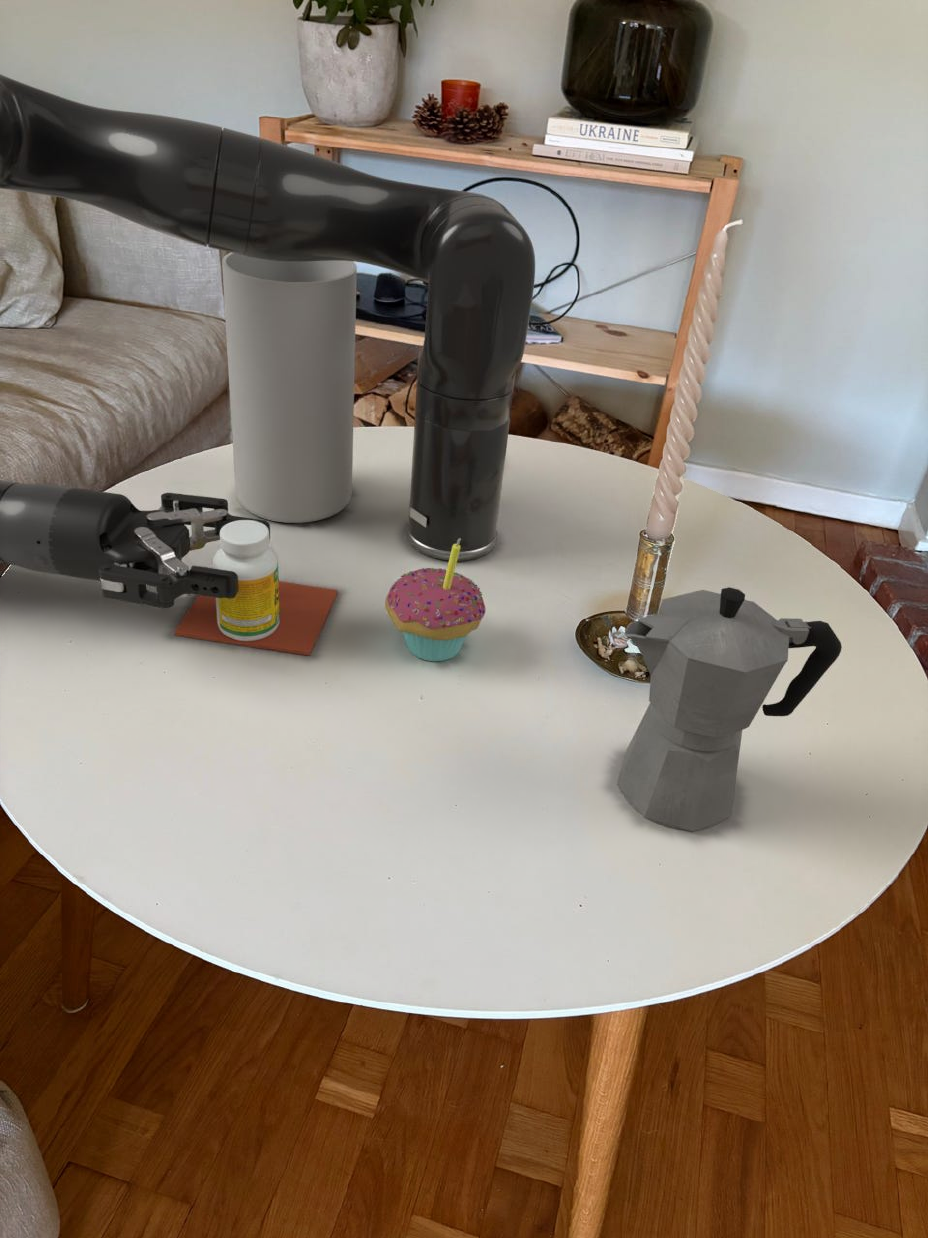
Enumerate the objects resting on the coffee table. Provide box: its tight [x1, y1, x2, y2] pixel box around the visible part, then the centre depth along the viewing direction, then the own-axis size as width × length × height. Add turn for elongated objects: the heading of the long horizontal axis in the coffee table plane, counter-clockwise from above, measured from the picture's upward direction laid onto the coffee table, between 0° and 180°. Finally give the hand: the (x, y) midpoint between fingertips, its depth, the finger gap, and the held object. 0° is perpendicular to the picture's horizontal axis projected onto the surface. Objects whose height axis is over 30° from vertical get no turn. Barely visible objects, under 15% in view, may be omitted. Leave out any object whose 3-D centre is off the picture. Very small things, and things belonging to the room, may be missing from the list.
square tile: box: [174, 581, 338, 657], centre depth 87 cm, size 10×12×1 cm
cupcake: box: [384, 538, 487, 662], centre depth 82 cm, size 9×8×12 cm
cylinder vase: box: [221, 252, 358, 524], centre depth 98 cm, size 12×12×25 cm
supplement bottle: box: [212, 520, 279, 641], centre depth 82 cm, size 5×5×10 cm
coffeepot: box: [616, 586, 843, 832], centre depth 68 cm, size 15×9×18 cm, turn 95°
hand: (253, 558), depth 80 cm, fingers open, 8 cm apart
